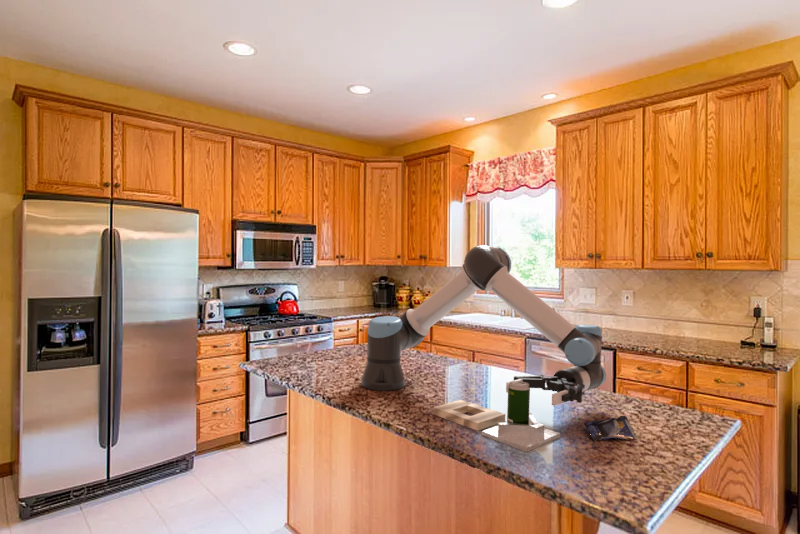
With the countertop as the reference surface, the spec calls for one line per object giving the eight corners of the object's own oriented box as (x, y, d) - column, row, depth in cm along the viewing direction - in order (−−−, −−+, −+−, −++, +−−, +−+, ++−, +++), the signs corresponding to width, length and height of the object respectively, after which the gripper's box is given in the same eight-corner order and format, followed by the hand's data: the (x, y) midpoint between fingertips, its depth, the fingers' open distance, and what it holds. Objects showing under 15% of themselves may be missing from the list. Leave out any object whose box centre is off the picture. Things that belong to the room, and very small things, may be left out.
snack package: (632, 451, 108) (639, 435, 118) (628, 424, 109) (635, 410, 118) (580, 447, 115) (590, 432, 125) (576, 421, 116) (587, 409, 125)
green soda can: (518, 436, 112) (519, 387, 112) (502, 429, 117) (503, 382, 117) (533, 432, 115) (534, 384, 115) (516, 425, 120) (518, 380, 120)
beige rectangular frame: (432, 414, 130) (433, 407, 130) (460, 406, 138) (460, 399, 138) (477, 430, 118) (477, 423, 118) (505, 421, 126) (505, 413, 126)
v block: (481, 435, 115) (482, 419, 115) (516, 422, 125) (516, 408, 125) (526, 452, 105) (527, 434, 105) (560, 437, 115) (560, 421, 115)
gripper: (613, 405, 123) (574, 421, 109) (532, 384, 142) (490, 396, 128) (614, 377, 123) (575, 390, 109) (533, 360, 142) (490, 369, 128)
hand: (529, 393), depth 118 cm, fingers open, 13 cm apart
